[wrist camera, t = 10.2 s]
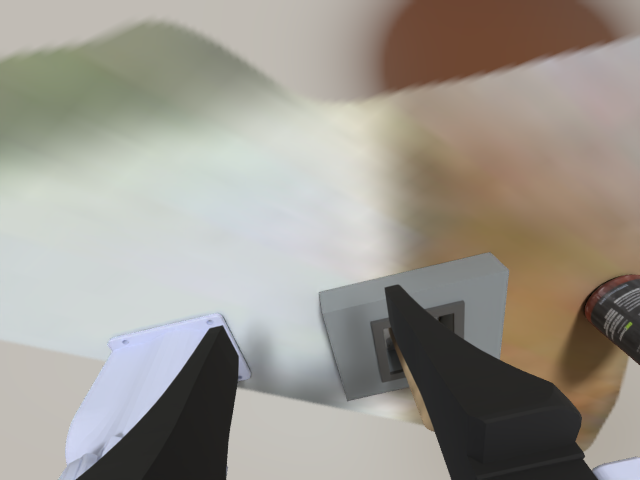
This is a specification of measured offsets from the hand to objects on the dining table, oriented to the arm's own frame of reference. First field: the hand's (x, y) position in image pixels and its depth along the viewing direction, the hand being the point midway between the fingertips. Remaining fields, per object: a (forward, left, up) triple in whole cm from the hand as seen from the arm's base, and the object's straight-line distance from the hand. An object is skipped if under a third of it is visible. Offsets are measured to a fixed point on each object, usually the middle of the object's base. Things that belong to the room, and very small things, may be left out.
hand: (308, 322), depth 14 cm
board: (+7, -12, -10) cm, 17 cm away
